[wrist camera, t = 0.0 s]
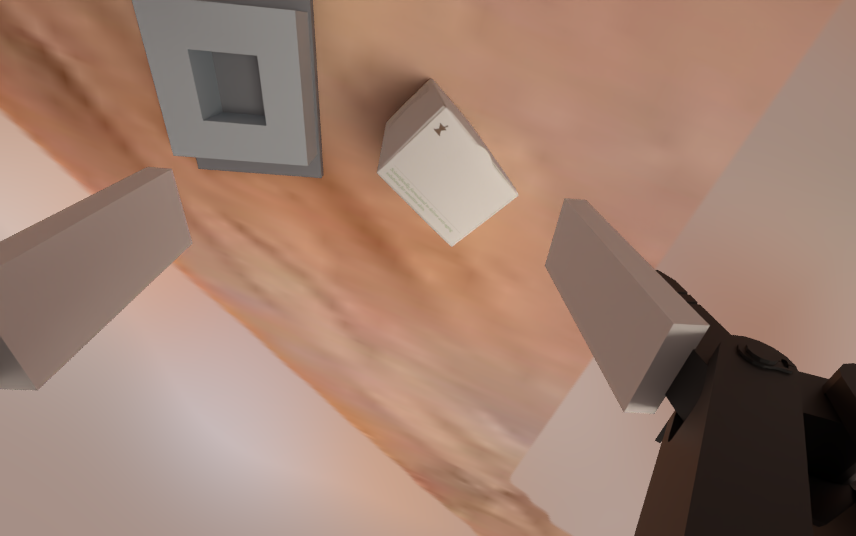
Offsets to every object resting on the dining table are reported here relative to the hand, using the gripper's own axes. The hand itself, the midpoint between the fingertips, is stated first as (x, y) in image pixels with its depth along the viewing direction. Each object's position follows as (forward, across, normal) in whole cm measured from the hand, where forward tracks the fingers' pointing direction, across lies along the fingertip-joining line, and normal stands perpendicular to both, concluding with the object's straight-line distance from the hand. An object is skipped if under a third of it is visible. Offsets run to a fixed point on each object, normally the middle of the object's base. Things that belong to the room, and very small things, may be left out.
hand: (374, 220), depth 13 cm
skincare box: (+28, +4, -3) cm, 29 cm away
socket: (+28, -14, 0) cm, 31 cm away
